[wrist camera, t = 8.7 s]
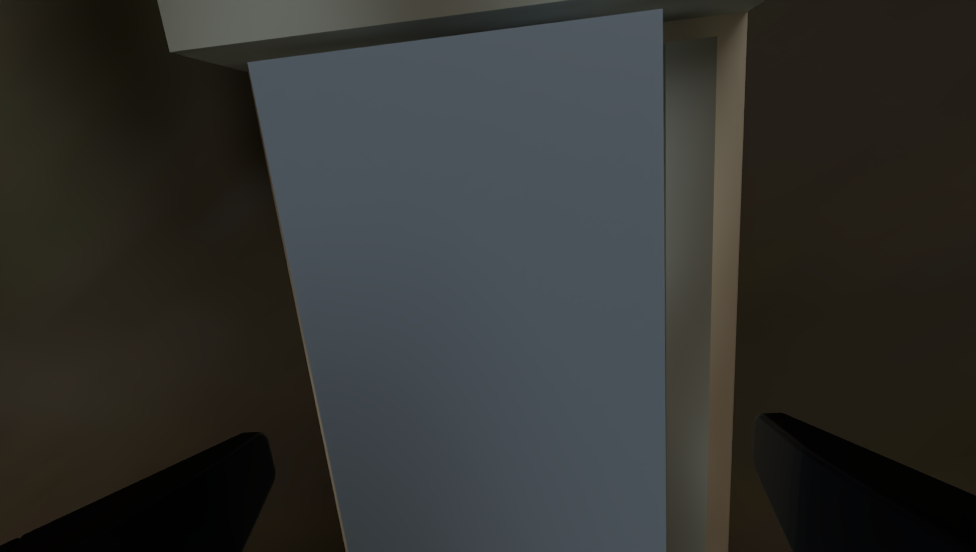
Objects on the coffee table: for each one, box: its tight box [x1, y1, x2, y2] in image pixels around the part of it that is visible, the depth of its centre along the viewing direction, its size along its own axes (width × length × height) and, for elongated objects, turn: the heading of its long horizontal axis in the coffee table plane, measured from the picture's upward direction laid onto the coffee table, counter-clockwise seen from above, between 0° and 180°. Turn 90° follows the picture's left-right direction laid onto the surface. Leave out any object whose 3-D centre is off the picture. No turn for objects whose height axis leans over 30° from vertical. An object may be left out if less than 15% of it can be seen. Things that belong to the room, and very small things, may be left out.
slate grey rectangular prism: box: [247, 9, 666, 552], centre depth 10 cm, size 4×14×6 cm, turn 5°
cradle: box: [157, 0, 765, 552], centre depth 12 cm, size 11×23×4 cm, turn 5°
